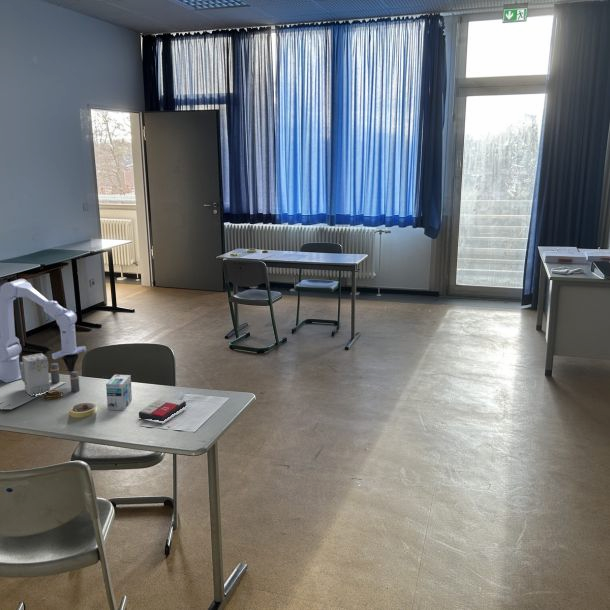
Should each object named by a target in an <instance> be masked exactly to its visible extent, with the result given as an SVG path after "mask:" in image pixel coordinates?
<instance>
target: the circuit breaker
mask: <svg viewBox="0 0 610 610" xmlns="http://www.w3.org/2000/svg"><path fill="white" fill-rule="evenodd" d="M21 359H22V361H19V367H20V375H21V379H20V380H21V381H22V382H23V383H24V390H25V392H27V393H28V394H29V395H32V396H33V394H35V395H36V394H39V393H40V394H41V393H44V392H46V391H50V390H51V383H50V378H49V369H50V366H49V361H48V357H47V356H46V355H45V354H43V352H41V353H35V354H28V355H23V356H21ZM50 392H51V391H50ZM27 393H26V394H27ZM28 394H27V395H28ZM29 395H28V396H29Z"/></svg>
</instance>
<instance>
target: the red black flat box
mask: <svg viewBox="0 0 610 610" xmlns="http://www.w3.org/2000/svg"><path fill="white" fill-rule="evenodd" d="M185 406H186V407H187V402H186V401H184V400H183V399H182V400H181V399H176V398H171V397H167V396H162V397H160V398H158V399H157V400H155V401H152V402H151V403H150V404H149V405H147V406H145V407H144V408H143V409H141V410H140V411H139V412H138V418H141V419H152V420H159V421H164V420H165V419H167V418H168V417H170V416H171V415H172V414H174V413H176V412H177V411H179V410H180V409H182V408H183V407H185ZM141 419H140V420H141Z"/></svg>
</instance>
